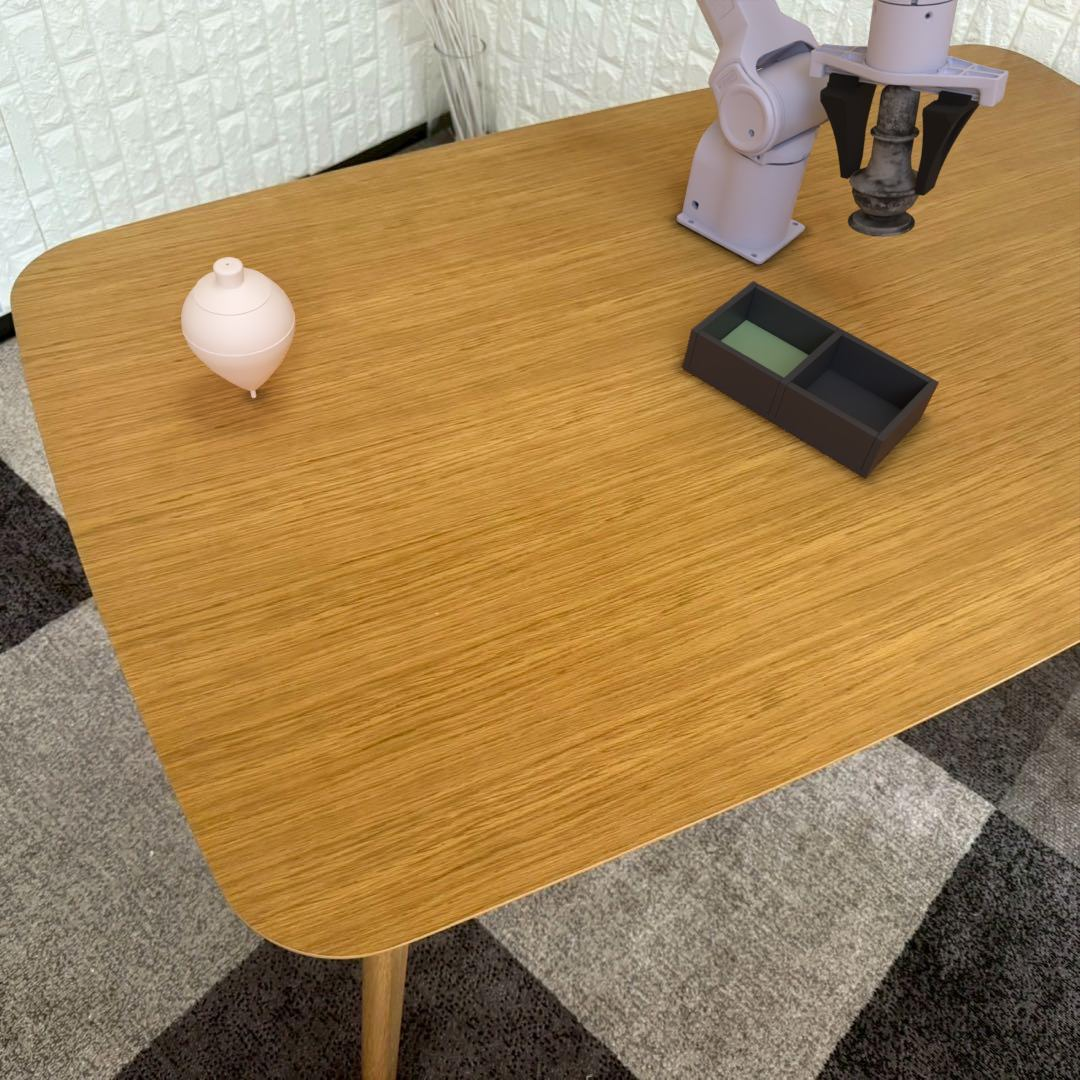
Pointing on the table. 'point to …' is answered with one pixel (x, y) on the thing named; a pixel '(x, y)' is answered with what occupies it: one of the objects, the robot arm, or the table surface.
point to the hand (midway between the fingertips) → (887, 182)
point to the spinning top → (238, 323)
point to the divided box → (809, 377)
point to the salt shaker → (888, 168)
